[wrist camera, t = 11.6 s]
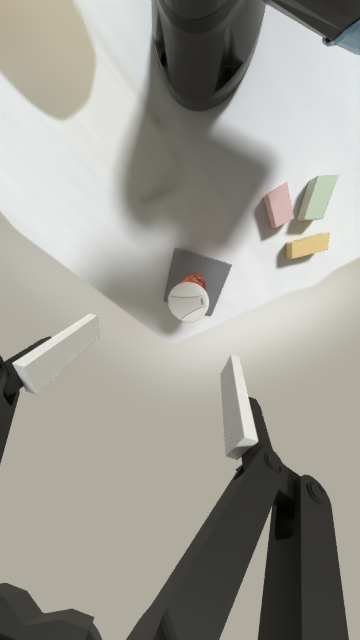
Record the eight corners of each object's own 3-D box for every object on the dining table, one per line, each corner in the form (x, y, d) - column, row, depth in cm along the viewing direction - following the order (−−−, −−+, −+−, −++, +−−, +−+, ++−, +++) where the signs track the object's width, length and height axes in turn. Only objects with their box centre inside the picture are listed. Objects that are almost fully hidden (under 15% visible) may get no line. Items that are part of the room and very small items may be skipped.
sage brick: (308, 181, 28) (318, 175, 25) (326, 180, 27) (339, 174, 25) (296, 220, 31) (304, 219, 28) (312, 220, 30) (322, 218, 28)
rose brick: (263, 197, 30) (267, 193, 27) (279, 186, 29) (286, 181, 26) (271, 228, 32) (276, 227, 29) (287, 219, 31) (294, 218, 28)
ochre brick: (285, 257, 34) (292, 258, 31) (285, 242, 33) (292, 243, 30) (318, 248, 32) (327, 249, 29) (319, 233, 31) (329, 232, 28)
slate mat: (175, 248, 37) (174, 248, 36) (231, 264, 36) (231, 264, 35) (164, 300, 44) (163, 301, 43) (211, 314, 43) (211, 315, 42)
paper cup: (204, 264, 36) (202, 278, 24) (212, 294, 40) (213, 319, 27) (175, 274, 39) (159, 291, 27) (184, 301, 42) (174, 327, 30)
